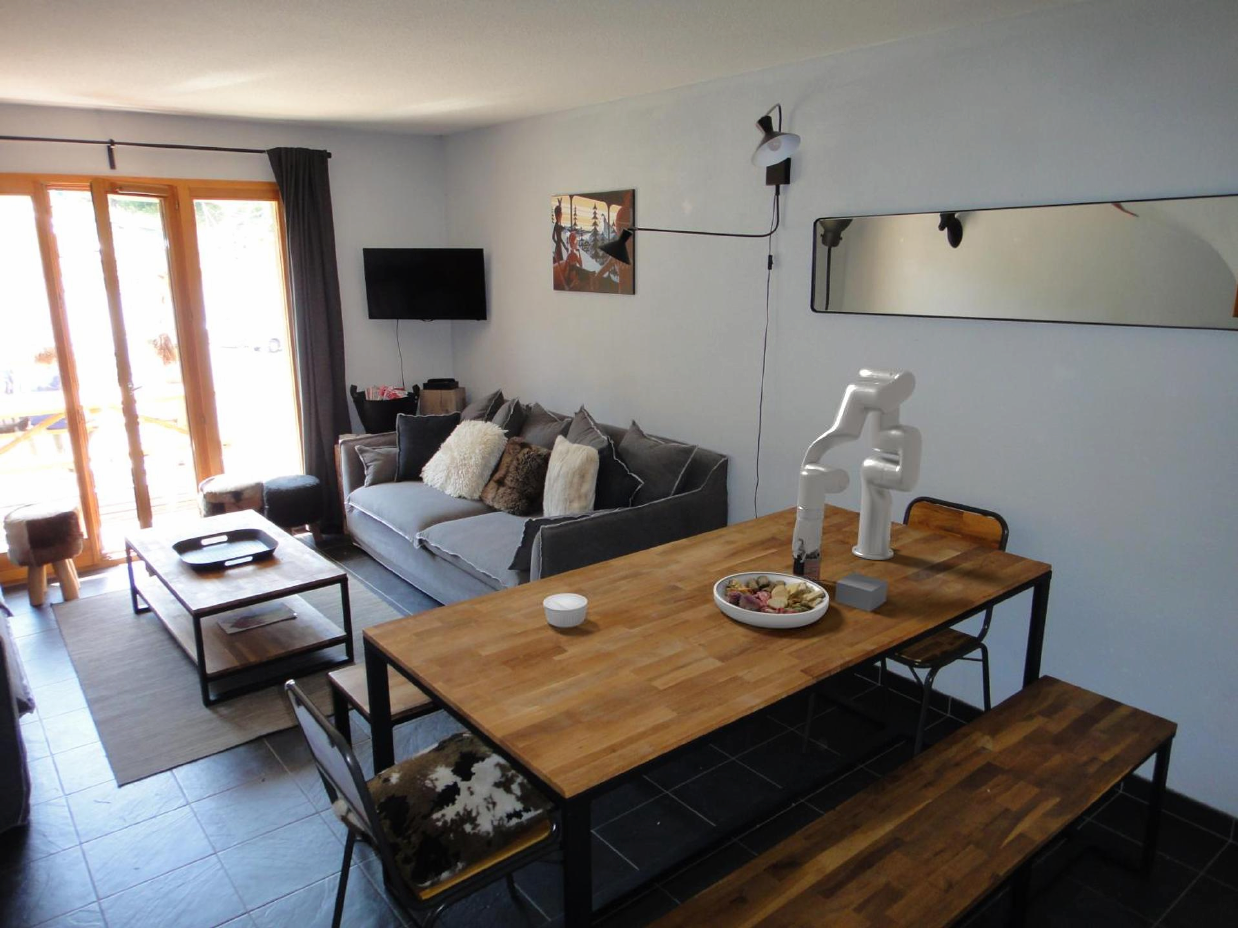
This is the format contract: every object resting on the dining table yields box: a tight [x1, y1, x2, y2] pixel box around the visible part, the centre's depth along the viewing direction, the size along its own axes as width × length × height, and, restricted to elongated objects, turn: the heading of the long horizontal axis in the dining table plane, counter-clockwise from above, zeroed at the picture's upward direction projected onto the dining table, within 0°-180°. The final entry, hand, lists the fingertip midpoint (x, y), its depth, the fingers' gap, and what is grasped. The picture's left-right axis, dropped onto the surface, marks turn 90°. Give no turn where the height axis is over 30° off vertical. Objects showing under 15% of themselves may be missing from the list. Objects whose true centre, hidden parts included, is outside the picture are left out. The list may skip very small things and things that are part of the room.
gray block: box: [834, 571, 888, 613], centre depth 228 cm, size 10×10×6 cm
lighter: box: [791, 550, 823, 585], centre depth 241 cm, size 8×3×10 cm, turn 84°
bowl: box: [713, 571, 830, 629], centre depth 222 cm, size 30×30×8 cm
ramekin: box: [542, 592, 589, 628], centre depth 213 cm, size 11×11×5 cm
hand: (805, 569), depth 241 cm, fingers open, 9 cm apart
